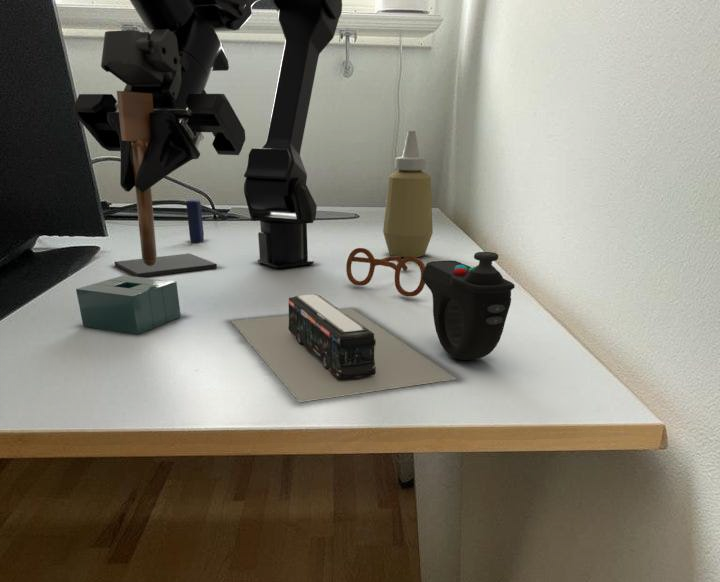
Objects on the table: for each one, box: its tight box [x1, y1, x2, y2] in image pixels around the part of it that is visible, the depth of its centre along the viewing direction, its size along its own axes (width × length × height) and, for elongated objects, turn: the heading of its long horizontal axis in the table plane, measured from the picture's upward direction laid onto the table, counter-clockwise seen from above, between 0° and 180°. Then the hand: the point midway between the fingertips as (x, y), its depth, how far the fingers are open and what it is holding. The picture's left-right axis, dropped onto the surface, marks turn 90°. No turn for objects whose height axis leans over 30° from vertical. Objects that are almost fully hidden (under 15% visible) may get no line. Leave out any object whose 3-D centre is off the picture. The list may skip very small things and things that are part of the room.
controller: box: [420, 251, 516, 361], centre depth 62 cm, size 4×12×10 cm, turn 19°
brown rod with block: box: [116, 90, 158, 266], centre depth 70 cm, size 3×2×17 cm, turn 135°
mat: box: [114, 253, 218, 278], centre depth 99 cm, size 12×10×1 cm
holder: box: [75, 275, 182, 335], centre depth 72 cm, size 7×7×4 cm
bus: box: [230, 293, 457, 403], centre depth 65 cm, size 14×25×4 cm, turn 22°
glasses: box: [345, 247, 426, 297], centre depth 88 cm, size 13×13×5 cm
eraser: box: [185, 199, 205, 243], centre depth 116 cm, size 2×2×7 cm
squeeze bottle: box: [382, 130, 434, 259], centre depth 104 cm, size 8×8×18 cm
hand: (131, 189), depth 69 cm, fingers closed on brown rod with block, 1 cm apart
